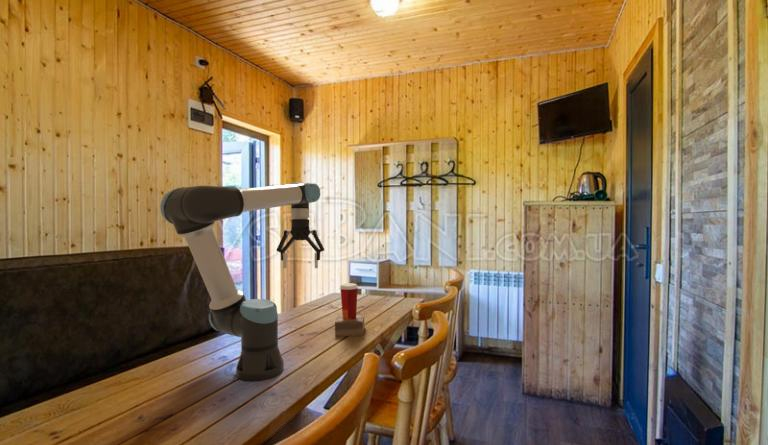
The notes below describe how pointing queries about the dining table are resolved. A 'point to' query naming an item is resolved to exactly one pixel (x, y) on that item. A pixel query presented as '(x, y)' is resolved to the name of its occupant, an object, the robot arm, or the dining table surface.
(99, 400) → the dining table surface
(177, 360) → the dining table surface
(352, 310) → the coffee cup
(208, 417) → the dining table surface
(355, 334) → the riser
